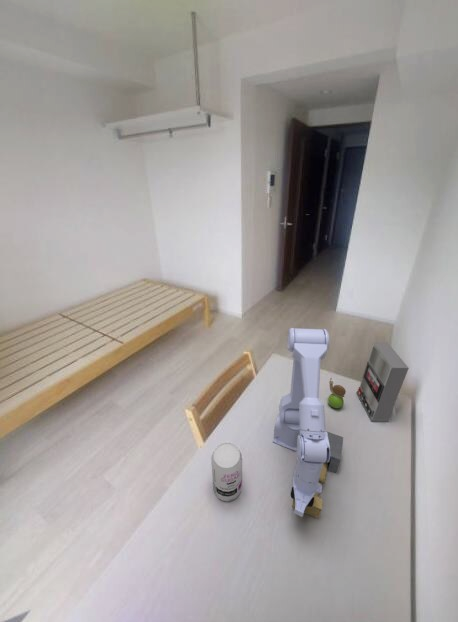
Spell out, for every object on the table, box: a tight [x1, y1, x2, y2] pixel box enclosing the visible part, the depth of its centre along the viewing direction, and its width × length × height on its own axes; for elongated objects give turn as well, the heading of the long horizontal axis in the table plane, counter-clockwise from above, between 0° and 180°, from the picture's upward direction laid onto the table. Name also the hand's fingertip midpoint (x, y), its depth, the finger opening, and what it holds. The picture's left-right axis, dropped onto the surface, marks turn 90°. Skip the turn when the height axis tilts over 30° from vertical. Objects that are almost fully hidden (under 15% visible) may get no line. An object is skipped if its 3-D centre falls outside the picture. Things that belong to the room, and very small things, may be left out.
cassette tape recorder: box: [356, 342, 410, 423], centre depth 96 cm, size 14×6×25 cm, turn 178°
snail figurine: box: [327, 377, 347, 409], centre depth 100 cm, size 5×6×12 cm
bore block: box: [325, 430, 344, 475], centre depth 84 cm, size 10×8×7 cm
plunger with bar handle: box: [291, 462, 328, 520], centre depth 76 cm, size 7×15×5 cm, turn 155°
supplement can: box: [210, 442, 243, 502], centre depth 74 cm, size 8×8×15 cm
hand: (301, 501), depth 72 cm, fingers closed on plunger with bar handle, 2 cm apart
